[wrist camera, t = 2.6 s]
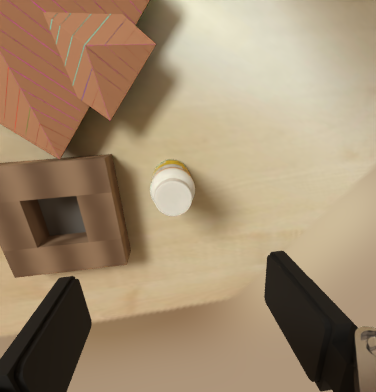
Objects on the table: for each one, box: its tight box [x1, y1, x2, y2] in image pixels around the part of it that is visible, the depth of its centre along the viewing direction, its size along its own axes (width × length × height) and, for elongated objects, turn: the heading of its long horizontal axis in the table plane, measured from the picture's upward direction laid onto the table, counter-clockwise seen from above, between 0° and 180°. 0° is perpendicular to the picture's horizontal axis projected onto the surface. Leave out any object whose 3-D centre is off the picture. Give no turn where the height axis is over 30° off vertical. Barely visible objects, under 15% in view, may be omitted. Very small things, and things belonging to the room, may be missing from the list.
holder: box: [0, 154, 131, 278], centre depth 28 cm, size 16×16×4 cm
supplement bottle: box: [150, 159, 195, 216], centre depth 25 cm, size 5×5×10 cm
